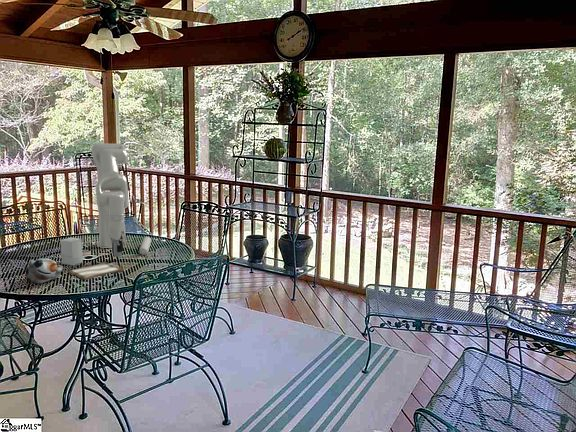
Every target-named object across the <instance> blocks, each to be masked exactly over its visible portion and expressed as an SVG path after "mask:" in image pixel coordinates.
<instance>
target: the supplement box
mask: <svg viewBox="0 0 576 432" xmlns="http://www.w3.org/2000/svg"><path fill="white" fill-rule="evenodd" d="M60 253H61V254H60V255H61V264H62V265H67V266H76V265H79V264H81V263H83V259H84V258H83V241H82V238H76V237H68V238H64V239H61V240H60Z"/></svg>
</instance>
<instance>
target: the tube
mask: <svg viewBox="0 0 576 432" xmlns="http://www.w3.org/2000/svg"><path fill="white" fill-rule="evenodd" d="M151 244H152V238H151V237H150V236H144V237H143V238H142V242H141V244H140V248H139V249H138V251H139V252H138V253H139V254H140V255H141V256H147V255H148V253H149V250H150V248H151Z"/></svg>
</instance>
